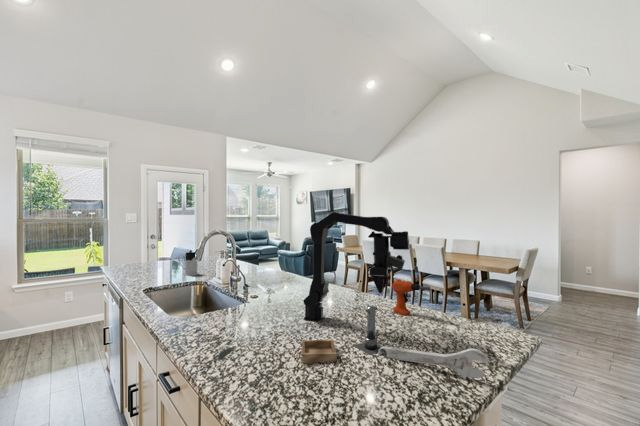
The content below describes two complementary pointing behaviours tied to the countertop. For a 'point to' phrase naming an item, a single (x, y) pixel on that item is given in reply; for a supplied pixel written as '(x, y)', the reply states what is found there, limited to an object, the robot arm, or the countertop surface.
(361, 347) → the mat
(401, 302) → the toy drill
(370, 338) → the chuck key
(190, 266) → the grey container
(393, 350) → the wrench
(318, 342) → the tray
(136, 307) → the countertop surface
